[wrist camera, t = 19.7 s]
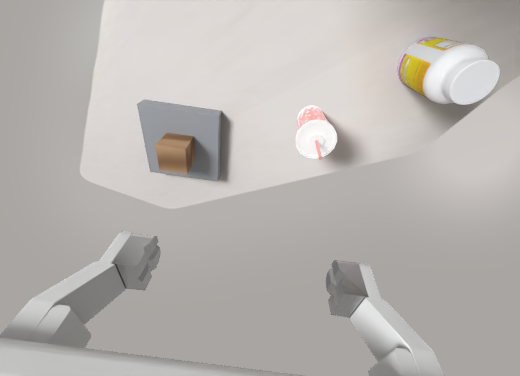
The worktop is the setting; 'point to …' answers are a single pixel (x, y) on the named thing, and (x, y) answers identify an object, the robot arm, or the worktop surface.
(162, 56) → the worktop surface
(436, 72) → the supplement bottle
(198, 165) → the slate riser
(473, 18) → the worktop surface
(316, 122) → the beverage cup
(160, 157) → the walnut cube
